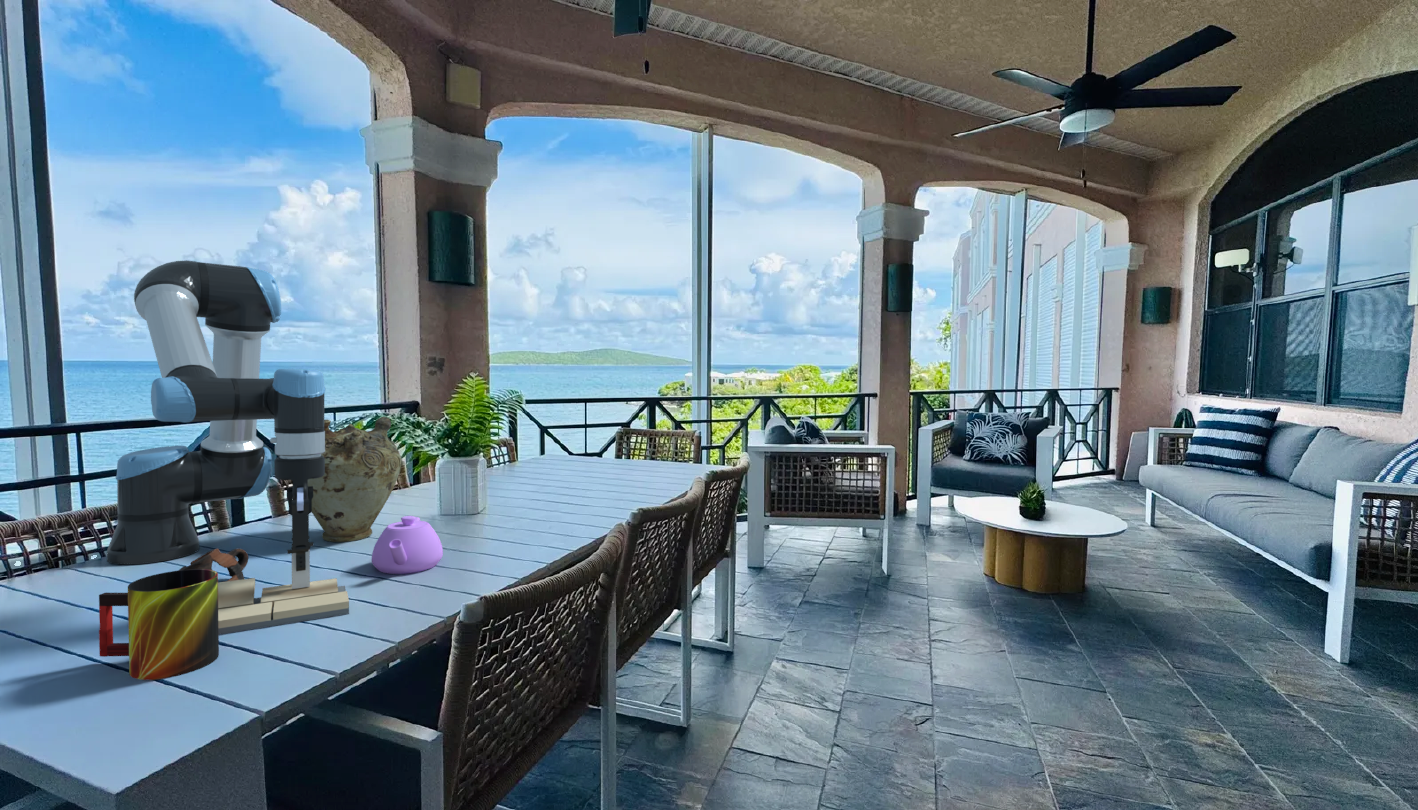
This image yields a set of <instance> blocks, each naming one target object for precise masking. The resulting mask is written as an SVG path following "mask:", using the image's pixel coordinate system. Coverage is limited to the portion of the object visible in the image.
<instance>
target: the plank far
mask: <svg viewBox="0 0 1418 810" xmlns="http://www.w3.org/2000/svg"><path fill="white" fill-rule="evenodd" d="M261 591H262V592H261V596H260V597H261V603H268V602H272V607H274V602H275V601H281V600H288V599H295V598H302V597H309V596H316V595H323V594H330V593H337V592H338V579H337V578H330V579H329V578H327V579H320V580H315V581H310V587H304V588H296V589H292V583H291V584H283V585H276V586H269V587H262V590H261Z"/></svg>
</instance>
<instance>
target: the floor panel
mask: <svg viewBox="0 0 1418 810" xmlns="http://www.w3.org/2000/svg"><path fill="white" fill-rule="evenodd" d="M349 614H350V599H349V593H348V591H347V590H346V585H340V586H338V592H337V593H330V594H323V595H316V596H309V597H302V598H295V599H288V600H281V601H275V602H274V607H272V602H268V603H261V596H260V597H254V605H247V606H240V607H233V608H226V609H219V610H218V628H219V636H220V635H226V634H233V633H238V632H244V631H250V630H257V629H262V628H263V629H265V628H268V627H269V628H270V627H275V626H282V625H287V624H292V623H293V624H294V623H295V624H296V623H300V622H307V621H312V620H319V619H325V618H332V617H338V616H343V615H349Z"/></svg>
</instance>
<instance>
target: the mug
mask: <svg viewBox="0 0 1418 810" xmlns="http://www.w3.org/2000/svg"><path fill="white" fill-rule="evenodd" d="M178 570H179V571H178ZM178 570H172V571H167V572H161V573H156V574H152V575H148V576H144V577H142V578H139V579H137V580H135V581H134V580H133V581H132V582H131V583H129V584H128V586H127V592H104V593H100V594H98V603H99V604H98V607H99V610H98V611H99V612H98V615H99V619H98V620H99V630H98V643H99V645H98V647H99V648H98V649H99V657H105V658H106V657H128V670H129V671H128V672H129V676H130V677H131V678H132V679H135V680H142V681H148V680H149V681H153V680H154V681H155V680H162V679H163V680H164V679H169V678H174V677H178V676H182V675H185V674H189V673H192V672H195V671H198V670H201V669H202V668H205V667H207V666H210V665H211V664H212V663H214V662H215V661H216V660H218V658H219V656H220V655H219V654H220V650H219V649H220V648H219V646H220V645H219V641H220V639H219V638H220V637H219V636H220V635H219V628H218V582H219V573H218V572H217V571H215V570H213V569H212V570H207V569H189V570H180V569H178ZM113 607H127V616H128V618H127V622H128V625H127V626H128V642H114V626H113V625H114V624H113V623H114V622H113V621H114V620H113V618H114V617H113V613H114V612H113Z"/></svg>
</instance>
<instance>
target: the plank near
mask: <svg viewBox="0 0 1418 810" xmlns="http://www.w3.org/2000/svg"><path fill="white" fill-rule="evenodd" d="M255 590H256V577H252V578H244V579H242V580H234V581H228V580H226V581H220V582H219V581H218V610H219V609H226V608H233V607H240V606H247V605H254V598H255Z"/></svg>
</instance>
